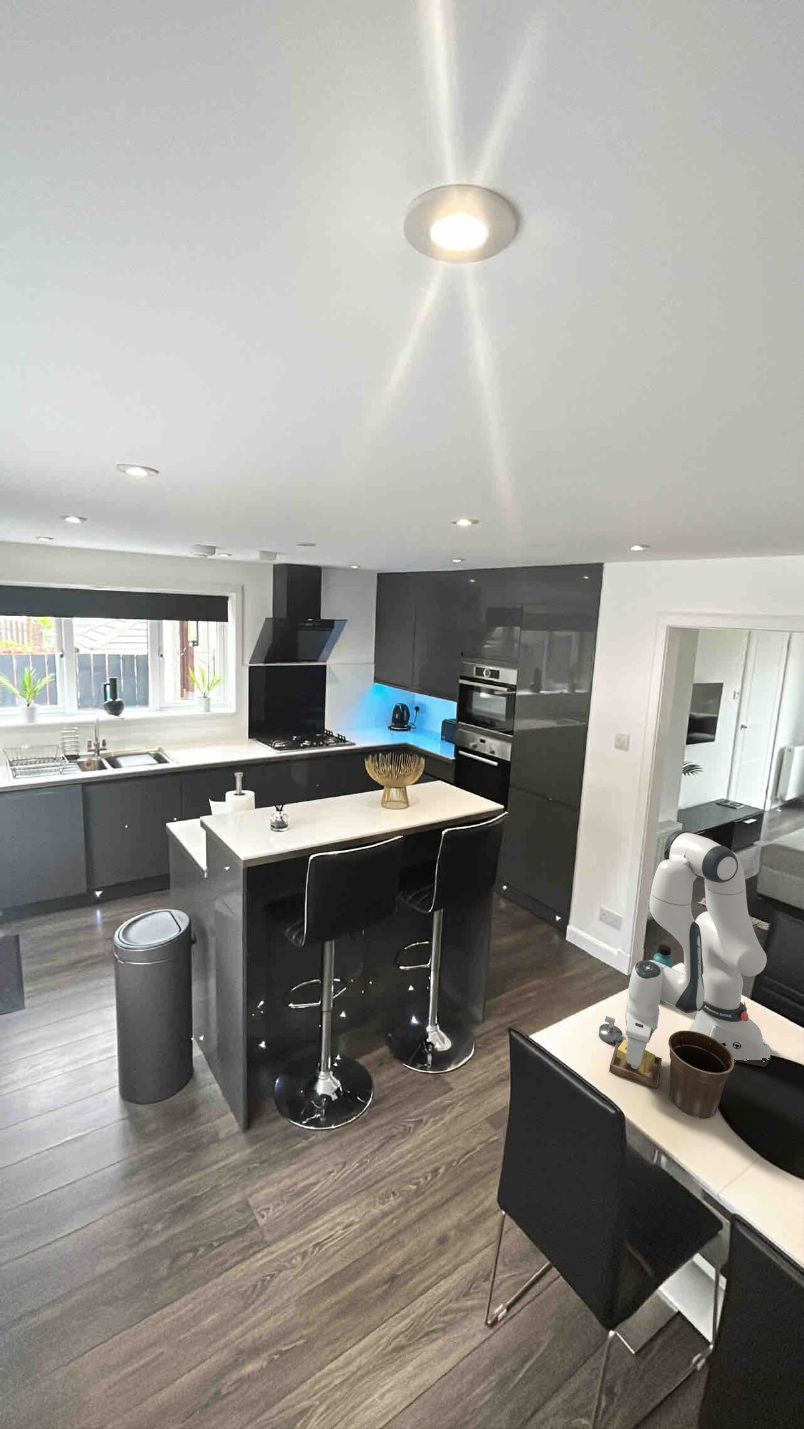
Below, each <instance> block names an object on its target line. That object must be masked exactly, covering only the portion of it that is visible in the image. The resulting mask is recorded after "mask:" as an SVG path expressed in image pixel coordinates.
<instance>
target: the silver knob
mask: <svg viewBox="0 0 804 1429" xmlns="http://www.w3.org/2000/svg"><path fill="white" fill-rule="evenodd" d="M604 1022H605V1023H602V1024H601V1025H600V1026H598V1027H599V1028H598V1037H599V1038H600V1040H602V1041H603V1042H604V1043H606V1044H608V1045H612V1046H614V1045H615V1046H616V1043H620V1044H621V1043H622V1042H623V1035H624V1034H623V1031H622V1030H621V1028H620V1027H618V1026H617V1025H615V1023H616V1018H613V1017H610V1016H607V1015H605V1019H604Z"/></svg>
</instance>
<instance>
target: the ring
mask: <svg viewBox="0 0 804 1429" xmlns="http://www.w3.org/2000/svg"><path fill="white" fill-rule="evenodd" d="M620 1044H621V1045H620V1046H619V1047H618V1049H617V1054H616V1057H618V1058H620V1059H622V1060H623V1061H625V1062H627V1038H626V1039H623V1040H622V1042H621V1043H620ZM655 1056H656V1055H655V1053H653V1052H650V1051H648V1050H647V1049H645V1052H644V1056H643V1059H642V1063H641V1065H640V1067H638V1071H639V1072H641V1073H644V1072H646V1073H648V1072H649V1070H650V1069H651V1067H652V1065H653V1064H654V1060H655ZM627 1063H628V1062H627Z"/></svg>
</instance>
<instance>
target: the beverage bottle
mask: <svg viewBox="0 0 804 1429" xmlns="http://www.w3.org/2000/svg"><path fill="white" fill-rule="evenodd" d="M671 951H672V949H671V947H670V946H669V945H667V944H665V943H661V944H659V945H658V947H657V953H655V954H654V955H653V959H652V960H653V961H657V962H659V963H661V964H664V965H666V966H668V967H670V968H672V969H673V964H674V959H673V958H672V957H671V953H672V952H671ZM661 1001H662V1000H661ZM661 1001H660V1002H661Z"/></svg>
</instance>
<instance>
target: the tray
mask: <svg viewBox="0 0 804 1429" xmlns="http://www.w3.org/2000/svg"><path fill="white" fill-rule="evenodd" d="M620 1045H621V1043H616V1045H615V1046H614V1050H613V1054H612V1056H611V1060H610V1063H609V1069H608V1072H610V1073H612V1074H614V1075H617V1076H620V1077H623V1078H625V1079H628V1080H631V1081H634V1082H636V1083H639V1084H641V1085H643V1086H646V1087H649V1088H652V1089H655V1090H657V1089H658V1083H659V1078H660V1073H661V1067H662V1060H663V1058H662V1057H659V1056H656V1055H655V1060H654V1064H653V1065H652V1067H651V1069H650V1070H649V1072H648V1073H646V1072H644V1073H641V1072H639V1071H638V1069H634V1068H632V1067H631V1064H629V1063H627V1062H625V1061H623V1060H622V1059H620V1058H618V1057H616V1054H617V1049H618V1047H619V1046H620Z"/></svg>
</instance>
